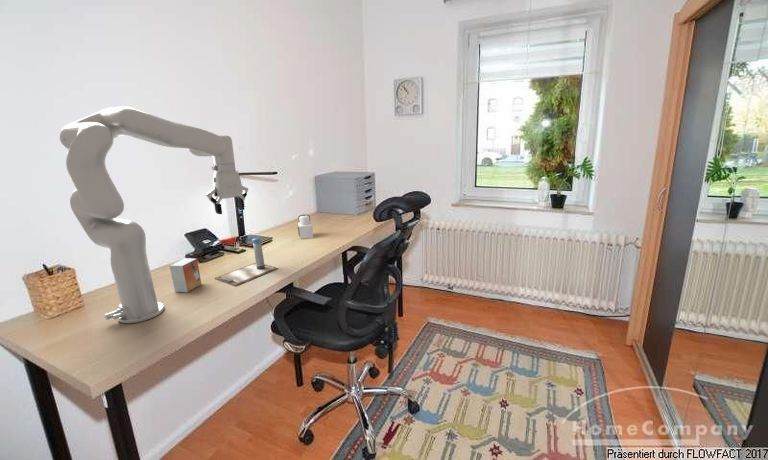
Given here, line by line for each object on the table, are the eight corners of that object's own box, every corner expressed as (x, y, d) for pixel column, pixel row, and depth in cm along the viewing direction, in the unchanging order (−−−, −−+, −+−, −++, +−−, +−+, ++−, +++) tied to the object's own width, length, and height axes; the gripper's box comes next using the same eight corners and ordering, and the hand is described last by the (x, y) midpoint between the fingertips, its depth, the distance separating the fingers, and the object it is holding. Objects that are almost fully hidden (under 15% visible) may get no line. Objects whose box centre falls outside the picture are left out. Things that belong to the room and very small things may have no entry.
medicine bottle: (298, 235, 199) (296, 214, 196) (311, 234, 201) (309, 213, 198) (299, 239, 193) (297, 217, 190) (313, 237, 195) (311, 216, 192)
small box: (187, 292, 134) (182, 266, 131) (174, 292, 135) (168, 265, 132) (202, 283, 141) (197, 258, 138) (189, 283, 142) (184, 257, 139)
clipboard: (235, 286, 137) (235, 283, 137) (214, 278, 145) (214, 276, 145) (277, 268, 153) (277, 266, 153) (257, 262, 161) (256, 260, 161)
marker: (260, 270, 151) (255, 240, 147) (255, 268, 153) (250, 239, 149) (266, 267, 154) (262, 238, 150) (261, 266, 155) (257, 237, 152)
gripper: (208, 170, 133) (215, 216, 137) (250, 166, 146) (255, 208, 151) (198, 170, 137) (204, 214, 141) (239, 166, 151) (244, 207, 155)
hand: (230, 211), depth 146 cm, fingers open, 9 cm apart
